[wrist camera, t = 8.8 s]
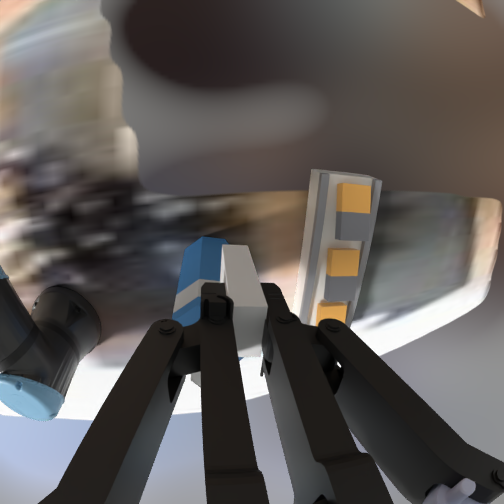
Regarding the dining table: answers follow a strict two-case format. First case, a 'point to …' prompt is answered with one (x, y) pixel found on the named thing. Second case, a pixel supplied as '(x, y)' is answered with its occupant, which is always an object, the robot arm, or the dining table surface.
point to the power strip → (328, 241)
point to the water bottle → (197, 281)
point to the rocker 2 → (341, 274)
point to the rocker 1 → (353, 212)
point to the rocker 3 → (331, 311)
